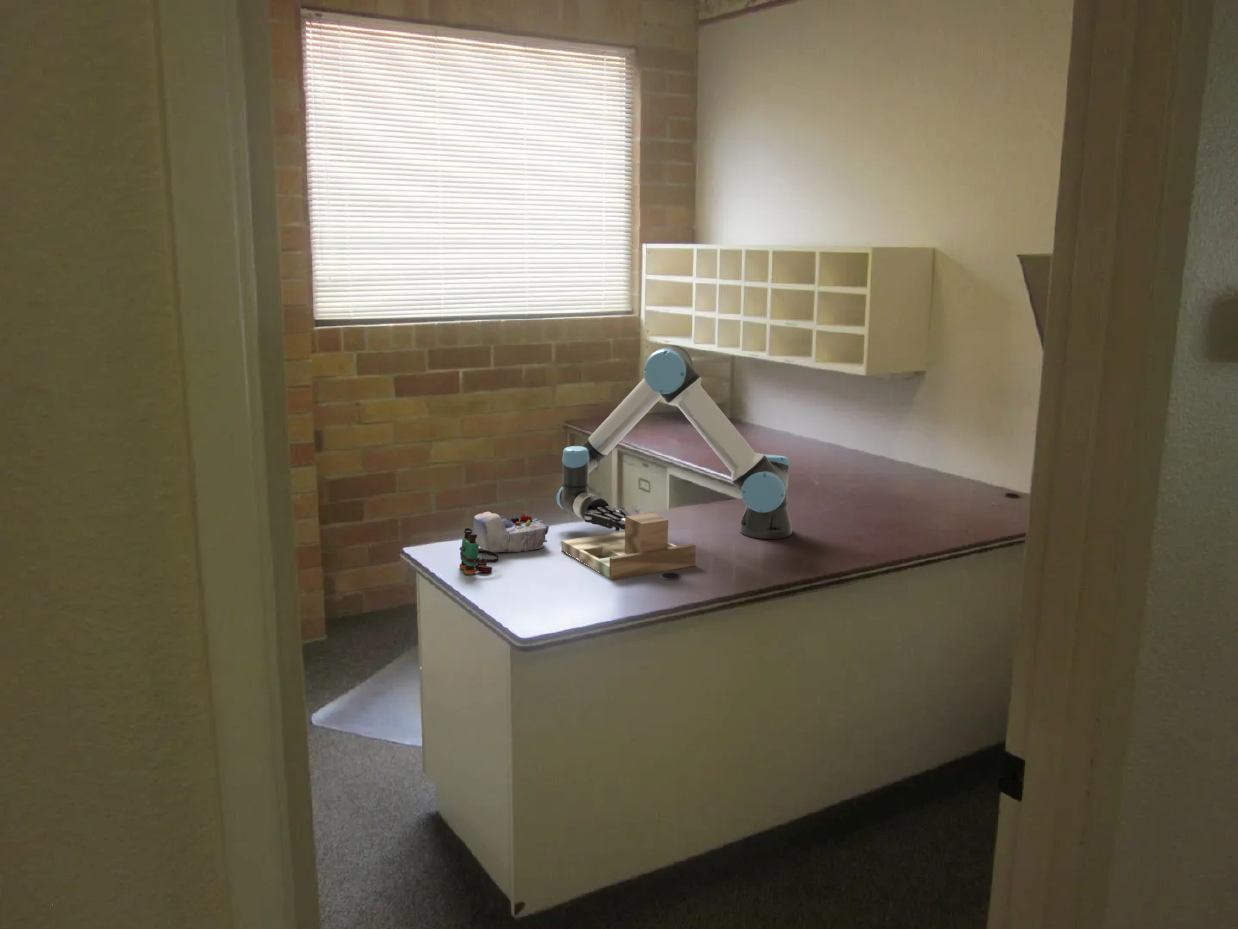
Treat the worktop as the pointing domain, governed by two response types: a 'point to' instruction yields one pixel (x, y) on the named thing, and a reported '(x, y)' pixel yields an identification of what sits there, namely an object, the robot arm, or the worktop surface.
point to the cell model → (509, 533)
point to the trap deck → (626, 556)
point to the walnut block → (645, 533)
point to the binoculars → (474, 555)
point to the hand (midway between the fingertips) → (635, 529)
